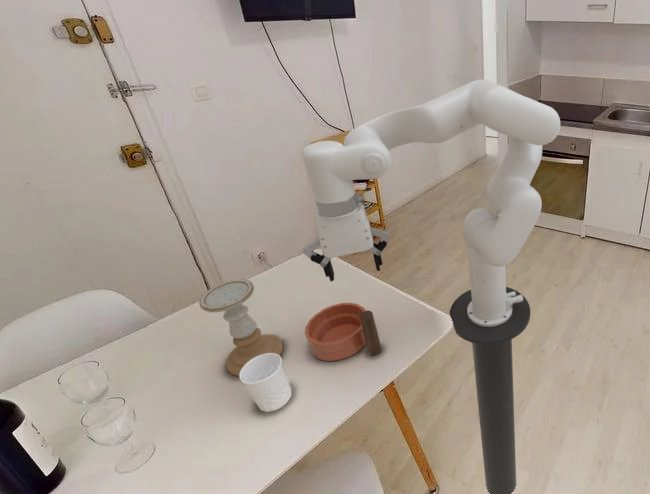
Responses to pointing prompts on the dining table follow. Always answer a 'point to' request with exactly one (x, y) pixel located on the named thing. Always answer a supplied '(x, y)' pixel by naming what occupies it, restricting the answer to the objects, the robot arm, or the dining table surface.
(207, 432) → the dining table surface
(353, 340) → the bowl
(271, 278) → the dining table surface
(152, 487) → the dining table surface
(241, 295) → the candle holder
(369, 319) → the dark brown cylinder
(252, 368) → the white cup
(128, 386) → the dining table surface
